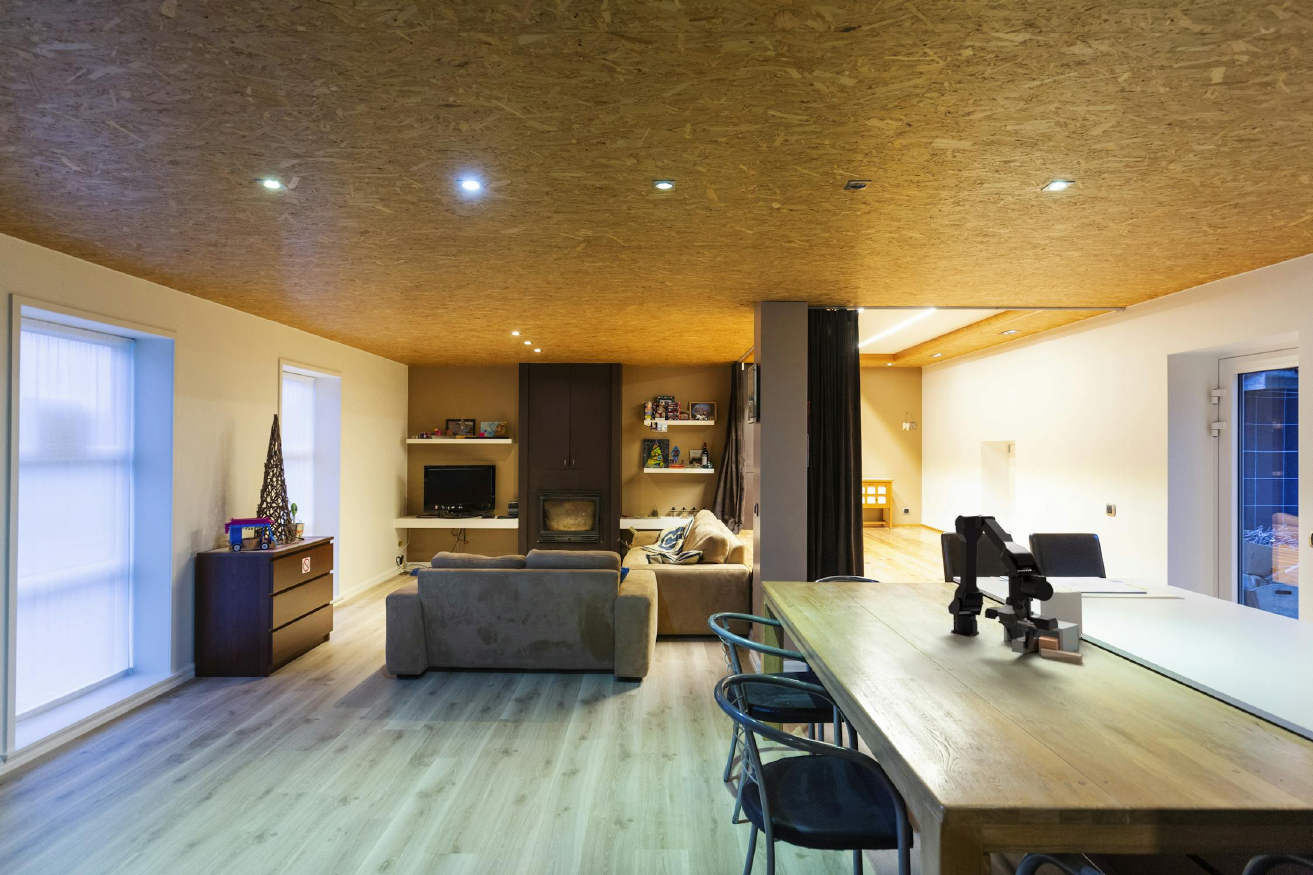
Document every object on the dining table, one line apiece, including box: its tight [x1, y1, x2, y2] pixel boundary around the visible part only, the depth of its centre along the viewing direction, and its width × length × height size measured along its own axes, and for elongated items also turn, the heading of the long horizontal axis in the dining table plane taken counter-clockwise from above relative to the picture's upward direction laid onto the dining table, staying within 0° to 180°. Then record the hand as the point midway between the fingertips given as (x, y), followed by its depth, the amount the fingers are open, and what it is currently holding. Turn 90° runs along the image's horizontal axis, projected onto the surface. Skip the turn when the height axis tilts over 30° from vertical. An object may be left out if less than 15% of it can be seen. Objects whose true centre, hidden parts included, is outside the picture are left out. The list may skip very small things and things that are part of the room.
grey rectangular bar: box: [1011, 634, 1041, 654], centre depth 197 cm, size 18×7×4 cm, turn 133°
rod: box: [1040, 647, 1084, 665], centre depth 191 cm, size 2×10×2 cm, turn 47°
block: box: [1038, 636, 1060, 655], centre depth 197 cm, size 4×4×4 cm
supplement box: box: [1039, 586, 1083, 639], centre depth 217 cm, size 9×9×15 cm
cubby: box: [1003, 615, 1080, 652], centre depth 206 cm, size 18×10×8 cm, turn 33°
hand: (1020, 647), depth 193 cm, fingers closed on grey rectangular bar, 3 cm apart
